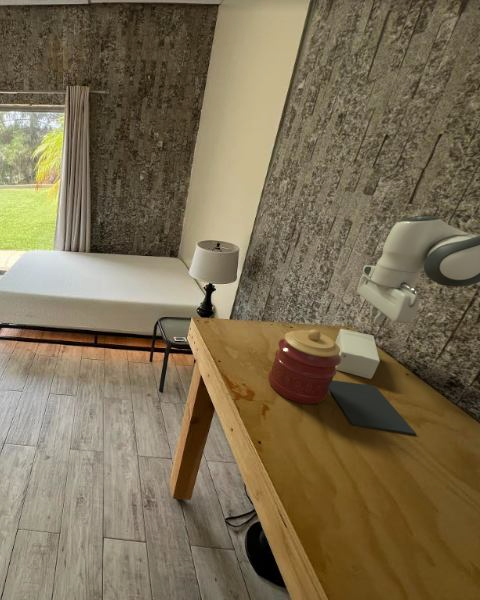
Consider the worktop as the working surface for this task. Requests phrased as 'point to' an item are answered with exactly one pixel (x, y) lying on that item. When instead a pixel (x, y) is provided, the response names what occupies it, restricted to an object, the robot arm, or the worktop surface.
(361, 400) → the felt mat
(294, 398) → the kitchen canister
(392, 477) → the worktop surface
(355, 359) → the cosmetic box
